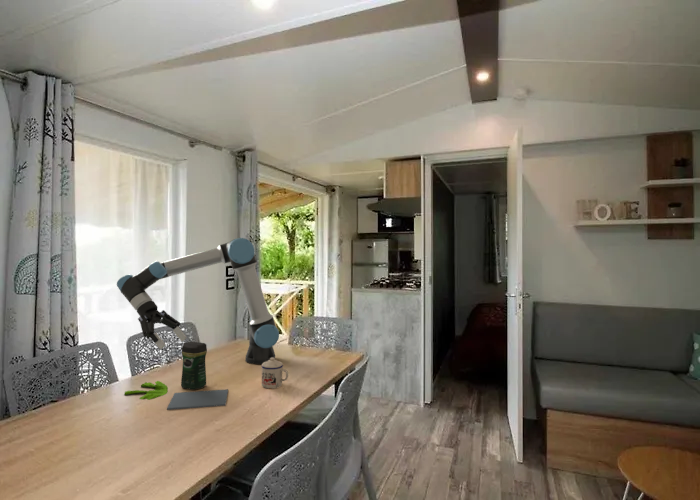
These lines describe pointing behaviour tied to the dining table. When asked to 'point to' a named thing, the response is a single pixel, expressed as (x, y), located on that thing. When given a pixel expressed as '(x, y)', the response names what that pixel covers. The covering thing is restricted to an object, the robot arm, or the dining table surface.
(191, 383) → the coffee jar
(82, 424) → the dining table surface
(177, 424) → the dining table surface
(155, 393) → the cloth
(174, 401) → the mat
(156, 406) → the dining table surface
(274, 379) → the teacup with lid
